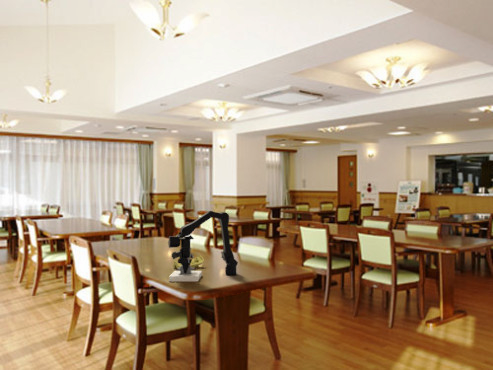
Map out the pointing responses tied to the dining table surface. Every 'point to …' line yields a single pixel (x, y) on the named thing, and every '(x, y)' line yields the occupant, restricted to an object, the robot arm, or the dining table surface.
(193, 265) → the plastic component
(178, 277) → the white square base plate
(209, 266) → the dining table surface
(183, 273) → the servo
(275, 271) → the dining table surface
